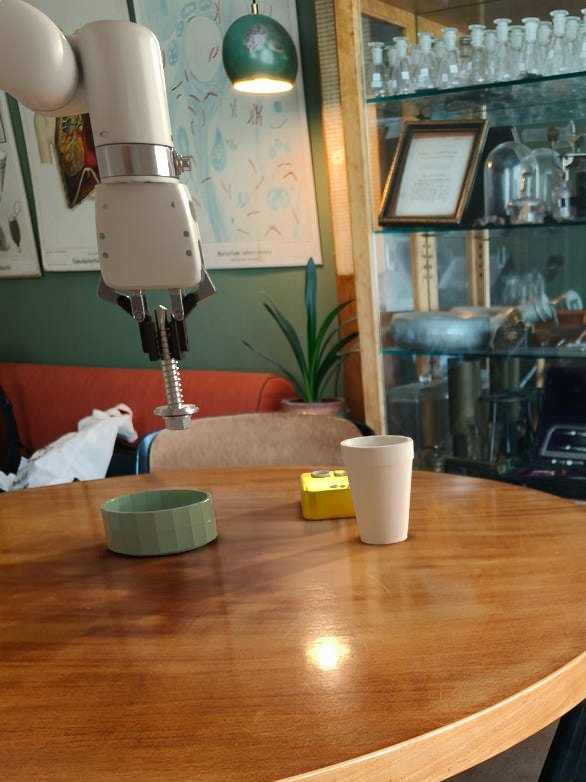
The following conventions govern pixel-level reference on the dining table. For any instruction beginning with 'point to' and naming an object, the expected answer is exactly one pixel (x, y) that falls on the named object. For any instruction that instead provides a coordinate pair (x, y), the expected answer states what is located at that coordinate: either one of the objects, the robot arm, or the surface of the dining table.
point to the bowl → (159, 521)
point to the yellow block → (325, 495)
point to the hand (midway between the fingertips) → (167, 358)
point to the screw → (171, 379)
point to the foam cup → (380, 485)
